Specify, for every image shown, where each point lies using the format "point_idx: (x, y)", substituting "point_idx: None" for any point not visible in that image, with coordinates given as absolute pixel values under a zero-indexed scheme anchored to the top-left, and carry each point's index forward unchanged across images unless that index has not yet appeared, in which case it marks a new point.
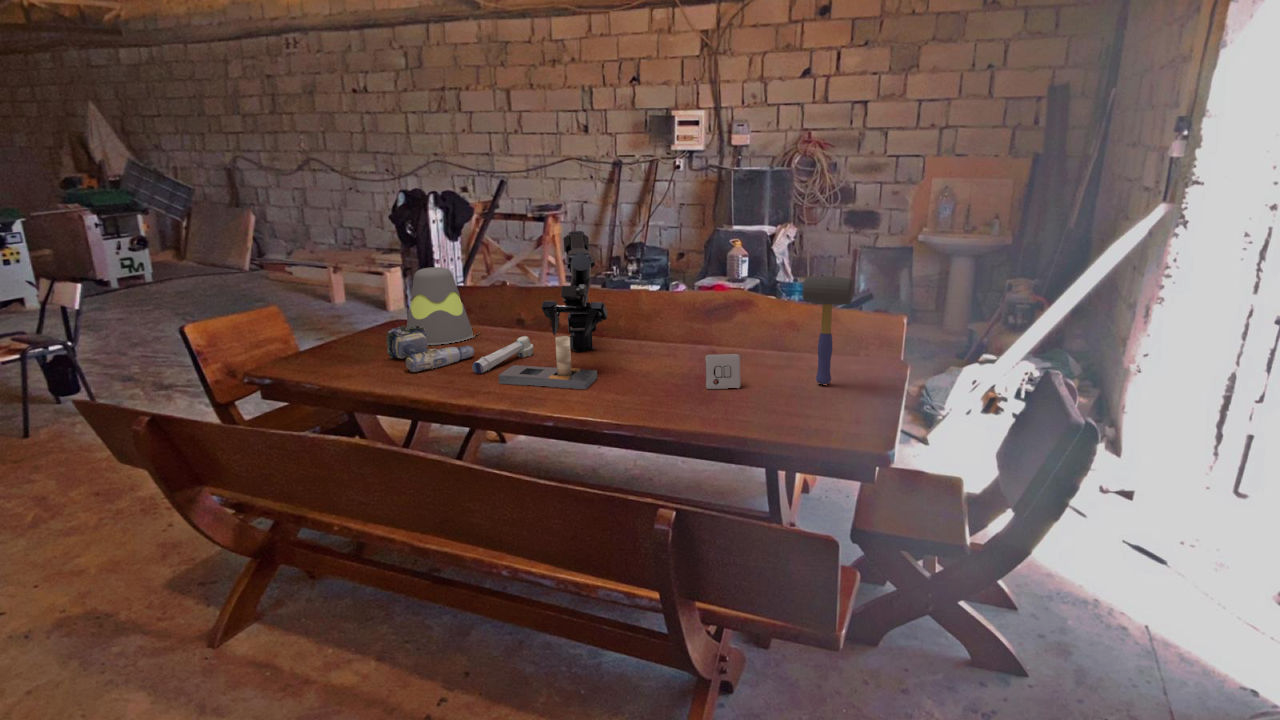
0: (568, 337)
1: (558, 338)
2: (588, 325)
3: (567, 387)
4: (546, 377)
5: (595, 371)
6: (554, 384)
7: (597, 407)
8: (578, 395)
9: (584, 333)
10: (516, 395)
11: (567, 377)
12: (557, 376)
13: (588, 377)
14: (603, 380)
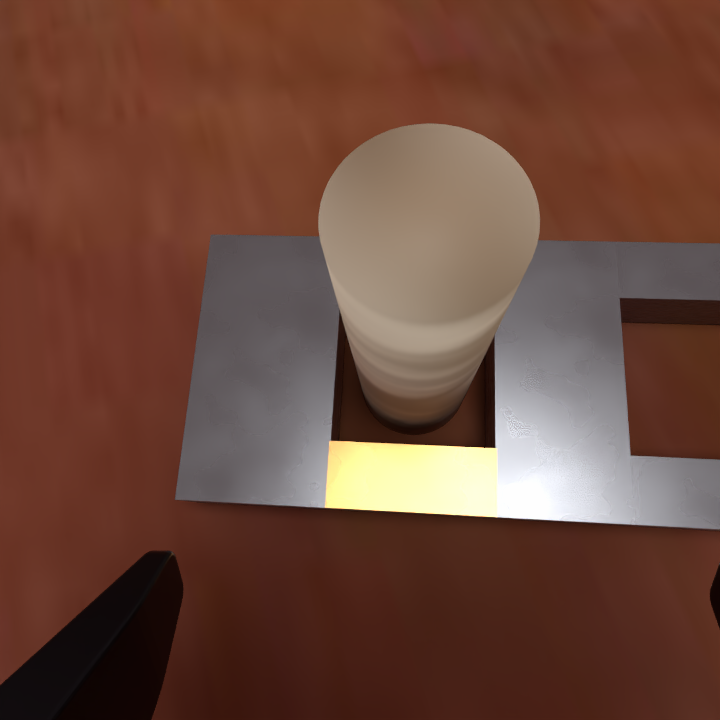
0: (343, 251)
1: (476, 177)
2: (5, 692)
3: None
4: None
5: (181, 468)
6: None
7: (105, 25)
8: (247, 164)
9: (152, 558)
10: (619, 97)
11: None
12: None
13: (204, 311)
14: (148, 472)
